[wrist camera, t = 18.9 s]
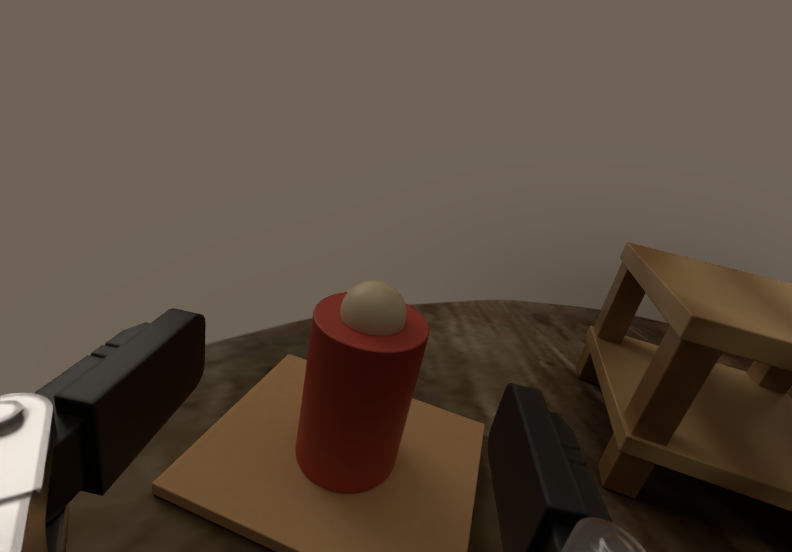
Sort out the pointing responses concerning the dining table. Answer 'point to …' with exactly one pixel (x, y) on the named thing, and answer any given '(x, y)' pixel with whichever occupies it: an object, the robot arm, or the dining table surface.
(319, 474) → the toy figure
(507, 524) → the robot arm
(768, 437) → the shelf
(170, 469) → the cork mat
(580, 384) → the dining table surface
